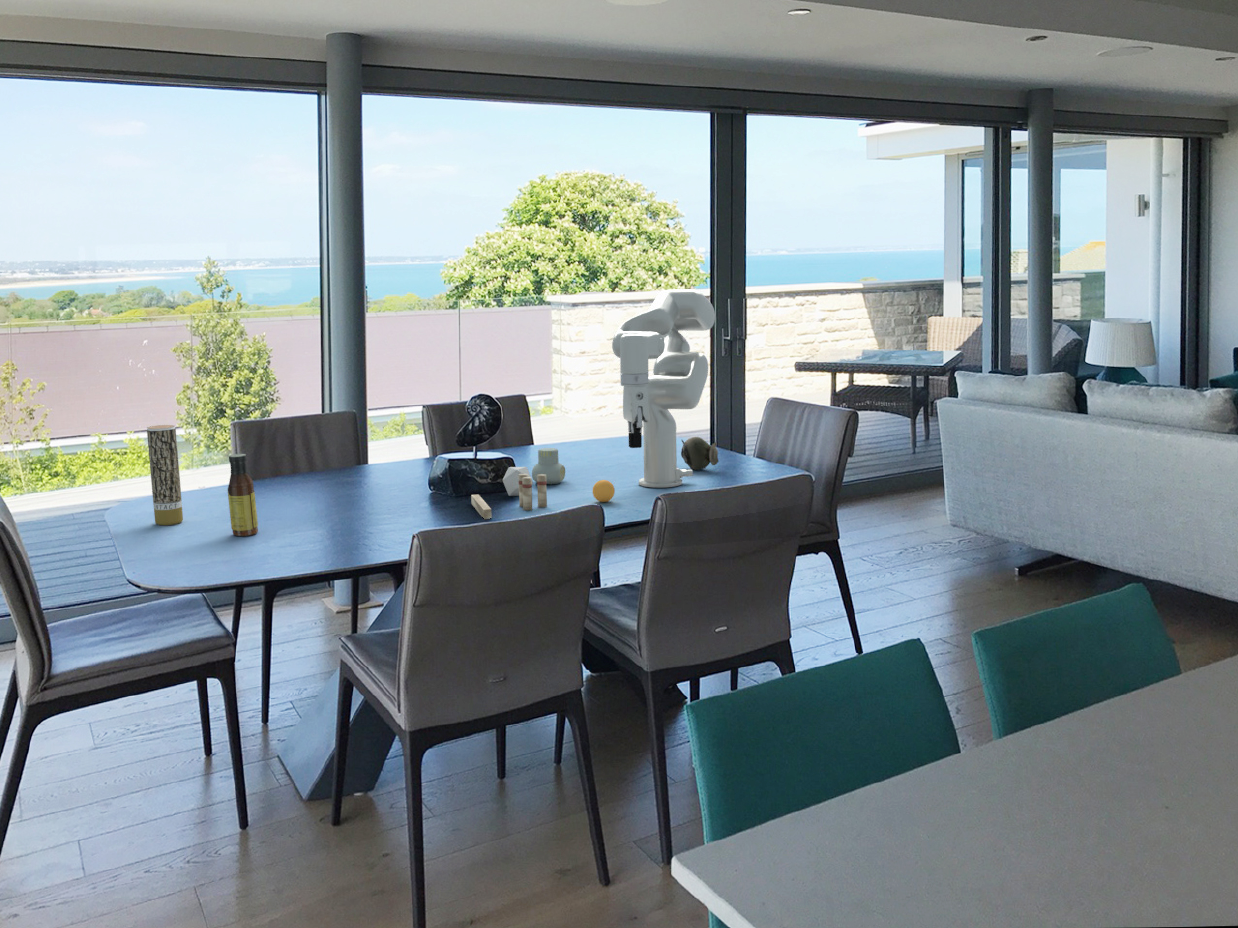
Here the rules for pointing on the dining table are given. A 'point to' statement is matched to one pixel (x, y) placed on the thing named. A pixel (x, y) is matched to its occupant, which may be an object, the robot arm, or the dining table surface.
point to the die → (514, 479)
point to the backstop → (481, 506)
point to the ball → (603, 490)
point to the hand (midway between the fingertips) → (635, 447)
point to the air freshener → (549, 466)
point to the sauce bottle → (241, 498)
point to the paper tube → (165, 474)
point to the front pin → (542, 490)
